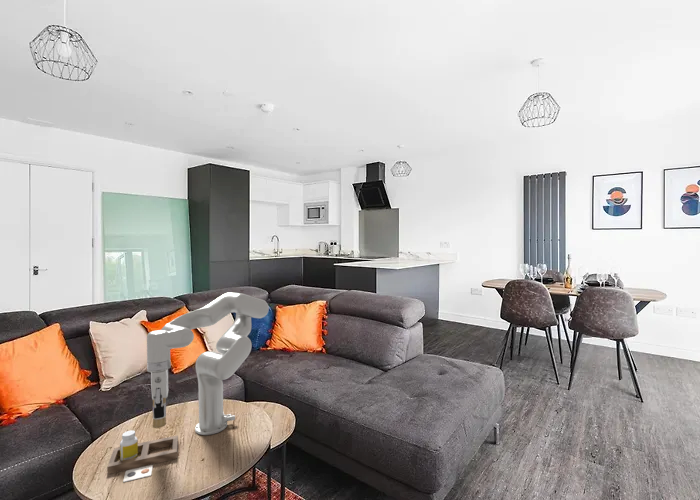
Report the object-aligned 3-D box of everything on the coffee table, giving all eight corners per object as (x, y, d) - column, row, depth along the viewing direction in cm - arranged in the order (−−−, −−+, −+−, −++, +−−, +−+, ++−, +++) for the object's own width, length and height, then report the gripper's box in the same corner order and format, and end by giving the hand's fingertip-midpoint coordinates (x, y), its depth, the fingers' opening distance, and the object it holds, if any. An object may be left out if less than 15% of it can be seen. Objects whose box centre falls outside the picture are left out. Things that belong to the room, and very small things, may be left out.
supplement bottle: (141, 458, 130) (140, 431, 129) (126, 466, 125) (126, 438, 124) (131, 454, 132) (131, 428, 132) (116, 462, 127) (116, 435, 127)
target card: (152, 465, 125) (152, 464, 125) (151, 475, 120) (151, 474, 120) (126, 471, 122) (126, 470, 122) (122, 482, 116) (122, 481, 116)
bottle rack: (177, 441, 140) (177, 435, 140) (176, 458, 129) (176, 451, 129) (114, 455, 132) (114, 448, 131) (107, 474, 121) (107, 467, 120)
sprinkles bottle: (150, 426, 132) (149, 389, 131) (163, 421, 135) (162, 385, 135) (155, 430, 129) (155, 392, 128) (168, 425, 132) (168, 388, 132)
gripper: (169, 370, 125) (169, 422, 126) (171, 356, 141) (172, 403, 141) (144, 374, 122) (145, 427, 123) (149, 359, 138) (150, 406, 138)
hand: (159, 413), depth 132 cm, fingers closed on sprinkles bottle, 4 cm apart
